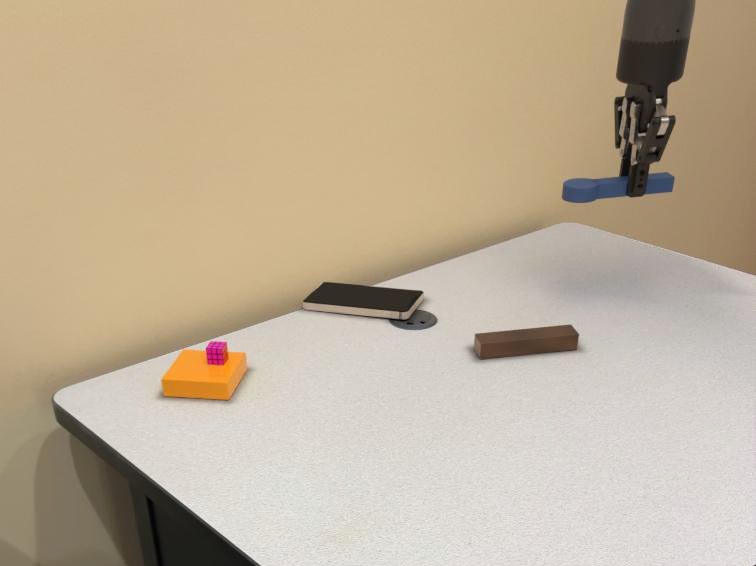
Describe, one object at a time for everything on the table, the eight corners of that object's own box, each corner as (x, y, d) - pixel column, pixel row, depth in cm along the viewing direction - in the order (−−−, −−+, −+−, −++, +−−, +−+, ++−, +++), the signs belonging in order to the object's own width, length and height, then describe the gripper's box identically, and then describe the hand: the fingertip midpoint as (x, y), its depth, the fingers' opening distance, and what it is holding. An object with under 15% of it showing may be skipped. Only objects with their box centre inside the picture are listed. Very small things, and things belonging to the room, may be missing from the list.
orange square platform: (228, 400, 103) (224, 366, 100) (163, 396, 104) (157, 362, 102) (247, 369, 109) (244, 336, 106) (185, 366, 110) (180, 333, 107)
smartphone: (323, 280, 127) (425, 290, 122) (323, 289, 127) (424, 298, 122) (301, 302, 121) (406, 312, 116) (301, 310, 122) (406, 321, 117)
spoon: (661, 184, 115) (664, 169, 114) (675, 194, 111) (678, 178, 110) (557, 194, 114) (558, 179, 113) (567, 204, 111) (569, 189, 110)
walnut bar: (568, 339, 110) (571, 324, 109) (577, 349, 108) (579, 334, 107) (473, 349, 110) (474, 333, 108) (479, 359, 107) (481, 343, 106)
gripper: (715, 38, 97) (682, 206, 108) (663, 21, 107) (638, 175, 118) (647, 45, 96) (621, 212, 107) (602, 27, 107) (583, 180, 118)
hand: (630, 192), depth 113 cm, fingers closed on spoon, 2 cm apart
